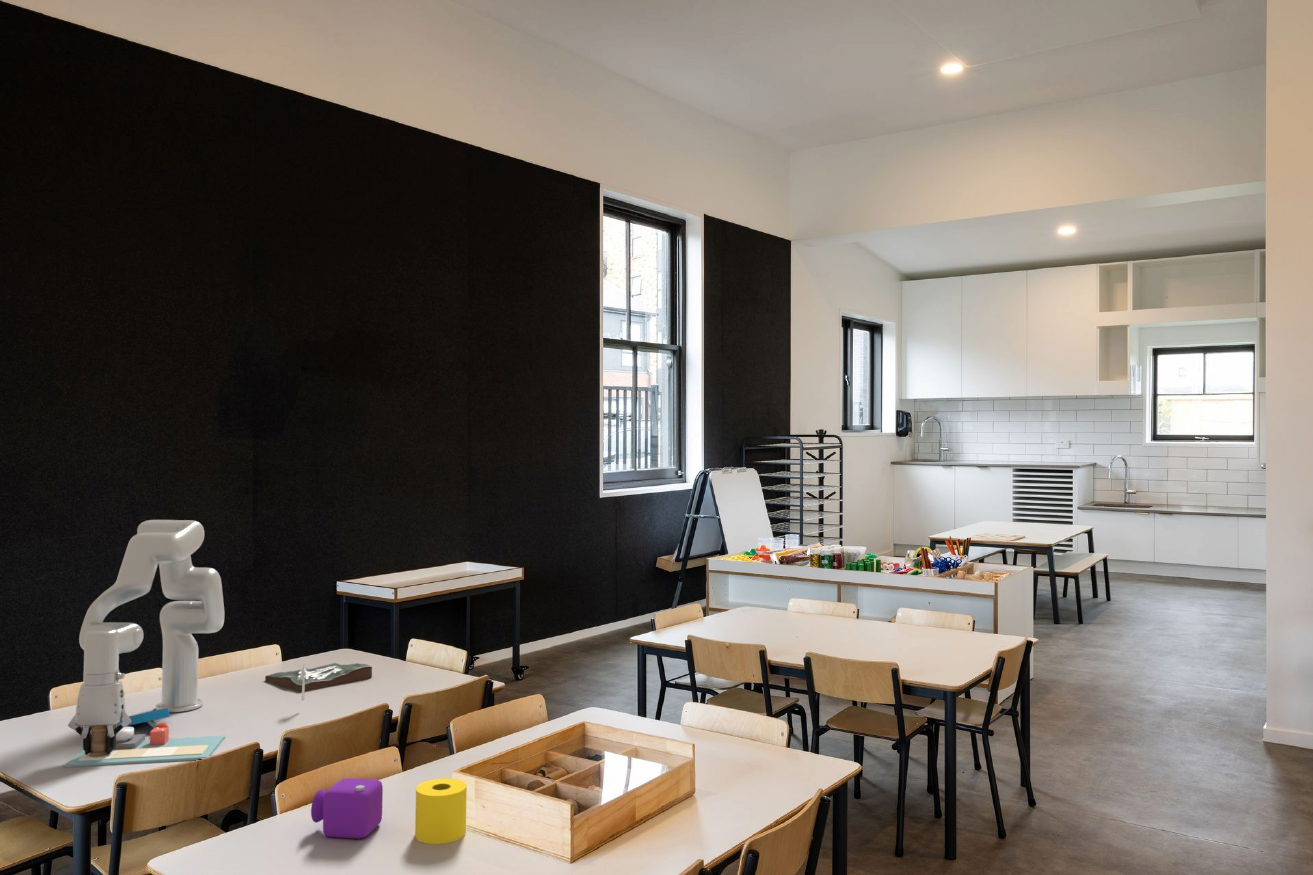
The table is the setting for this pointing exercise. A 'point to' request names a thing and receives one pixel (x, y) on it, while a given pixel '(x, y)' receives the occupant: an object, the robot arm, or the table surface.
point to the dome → (125, 734)
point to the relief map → (320, 676)
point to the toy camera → (349, 808)
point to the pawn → (98, 740)
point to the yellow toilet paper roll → (440, 811)
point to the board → (152, 750)
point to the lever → (150, 718)
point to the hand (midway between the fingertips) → (99, 751)
